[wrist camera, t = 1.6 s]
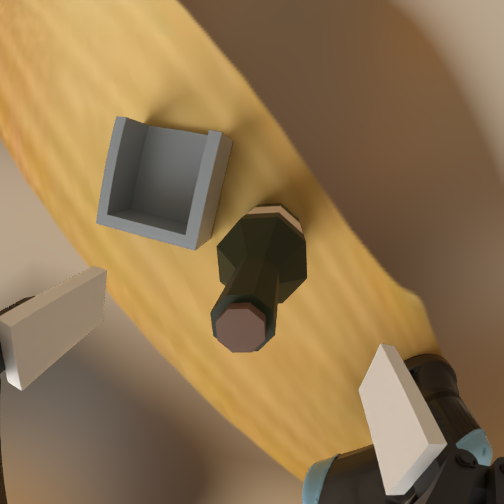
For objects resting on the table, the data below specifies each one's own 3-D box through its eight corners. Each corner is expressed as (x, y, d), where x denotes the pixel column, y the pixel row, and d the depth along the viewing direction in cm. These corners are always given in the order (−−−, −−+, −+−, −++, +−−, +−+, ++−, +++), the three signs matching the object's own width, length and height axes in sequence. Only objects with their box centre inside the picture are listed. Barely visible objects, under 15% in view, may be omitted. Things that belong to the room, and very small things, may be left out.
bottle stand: (210, 238, 45) (194, 250, 37) (124, 216, 46) (96, 223, 38) (233, 140, 42) (221, 132, 34) (142, 125, 43) (116, 116, 35)
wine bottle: (251, 193, 43) (180, 219, 14) (310, 213, 43) (356, 281, 14) (233, 250, 45) (145, 365, 16) (289, 270, 45) (290, 416, 16)
